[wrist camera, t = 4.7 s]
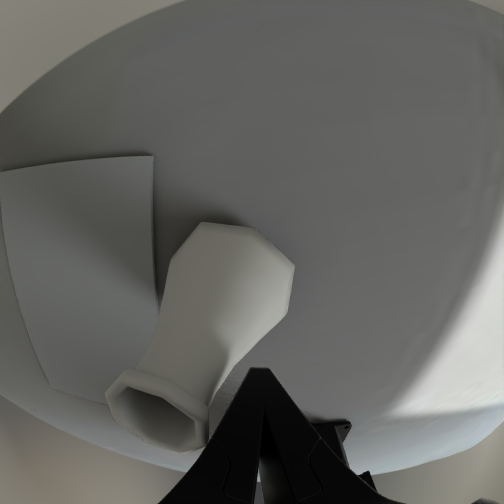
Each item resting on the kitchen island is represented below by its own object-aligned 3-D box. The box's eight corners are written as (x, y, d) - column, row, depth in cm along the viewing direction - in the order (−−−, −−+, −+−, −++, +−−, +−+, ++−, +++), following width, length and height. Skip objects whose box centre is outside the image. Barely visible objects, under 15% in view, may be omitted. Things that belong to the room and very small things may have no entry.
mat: (174, 414, 20) (173, 417, 20) (52, 385, 20) (51, 387, 19) (153, 155, 14) (151, 155, 13) (2, 171, 13) (-1, 172, 13)
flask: (193, 198, 15) (51, 253, 5) (317, 256, 15) (347, 400, 5) (157, 305, 17) (60, 412, 7) (260, 354, 17) (228, 497, 7)
